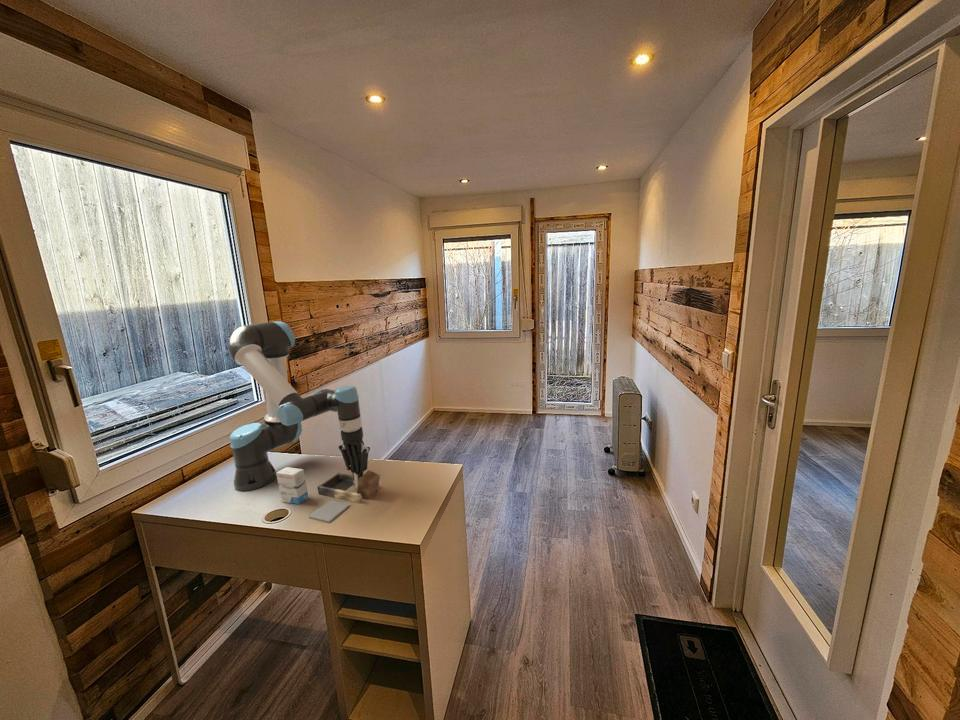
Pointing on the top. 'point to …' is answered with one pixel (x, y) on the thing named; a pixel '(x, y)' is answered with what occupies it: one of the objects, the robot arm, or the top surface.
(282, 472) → the ink box
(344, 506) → the slate pad
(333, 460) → the top surface
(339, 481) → the channel
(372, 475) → the walnut block
